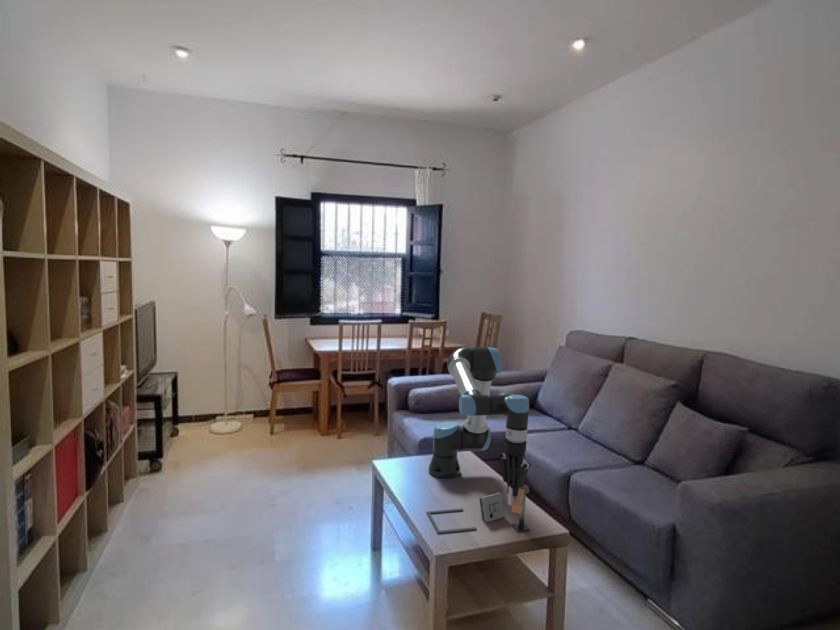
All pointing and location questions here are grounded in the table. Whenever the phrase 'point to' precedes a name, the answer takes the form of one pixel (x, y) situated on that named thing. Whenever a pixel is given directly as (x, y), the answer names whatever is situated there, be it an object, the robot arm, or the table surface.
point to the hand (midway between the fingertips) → (511, 503)
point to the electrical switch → (492, 507)
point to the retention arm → (519, 499)
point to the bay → (447, 530)
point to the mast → (521, 519)
